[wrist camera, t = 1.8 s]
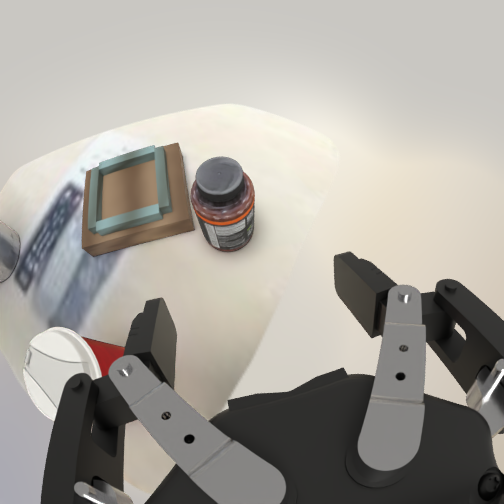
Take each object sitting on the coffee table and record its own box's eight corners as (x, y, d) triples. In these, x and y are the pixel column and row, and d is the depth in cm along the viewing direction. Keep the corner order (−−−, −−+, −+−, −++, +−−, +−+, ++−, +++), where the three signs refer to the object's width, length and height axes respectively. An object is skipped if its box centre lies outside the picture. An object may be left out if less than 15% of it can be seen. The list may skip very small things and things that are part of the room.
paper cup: (93, 384, 26) (12, 391, 13) (112, 328, 28) (33, 307, 15) (149, 415, 25) (83, 450, 12) (169, 356, 28) (108, 357, 14)
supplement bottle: (204, 208, 34) (187, 148, 23) (253, 207, 34) (254, 145, 23) (202, 254, 32) (180, 205, 21) (254, 253, 32) (256, 202, 21)
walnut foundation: (93, 256, 31) (75, 243, 27) (95, 182, 35) (81, 165, 31) (194, 230, 33) (186, 212, 28) (182, 156, 37) (175, 135, 32)
